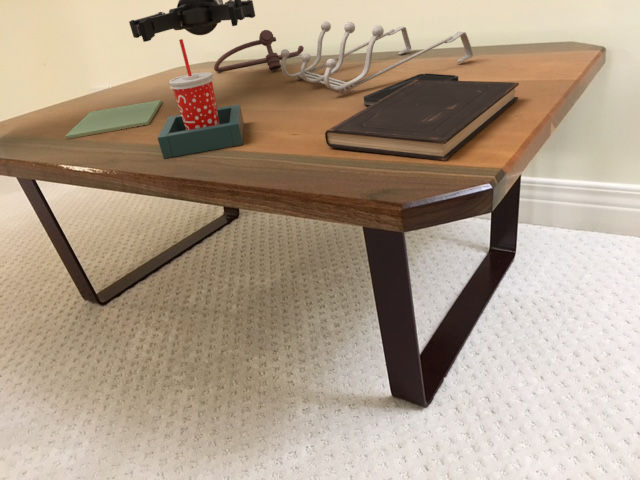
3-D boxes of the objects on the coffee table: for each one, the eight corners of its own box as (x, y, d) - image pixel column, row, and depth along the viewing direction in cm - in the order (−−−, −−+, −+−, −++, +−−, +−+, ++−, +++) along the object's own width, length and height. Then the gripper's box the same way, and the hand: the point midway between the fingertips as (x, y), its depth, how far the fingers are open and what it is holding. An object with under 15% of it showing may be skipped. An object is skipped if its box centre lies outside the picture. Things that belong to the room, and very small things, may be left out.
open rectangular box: (163, 158, 74) (157, 137, 72) (173, 135, 83) (168, 116, 82) (243, 144, 74) (238, 123, 73) (244, 123, 84) (239, 104, 82)
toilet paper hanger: (299, 47, 131) (309, 19, 117) (309, 80, 131) (320, 56, 117) (212, 65, 126) (212, 38, 113) (222, 99, 126) (223, 76, 113)
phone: (461, 75, 85) (399, 102, 77) (461, 83, 86) (400, 109, 77) (421, 73, 90) (359, 97, 82) (421, 79, 91) (360, 104, 83)
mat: (66, 139, 91) (65, 135, 91) (91, 114, 105) (89, 111, 105) (148, 124, 92) (147, 121, 91) (162, 102, 106) (161, 99, 105)
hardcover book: (517, 99, 74) (518, 82, 73) (445, 161, 58) (445, 140, 57) (412, 94, 83) (411, 79, 82) (326, 147, 67) (323, 129, 66)
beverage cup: (183, 139, 81) (156, 41, 74) (223, 130, 82) (200, 33, 75) (187, 150, 76) (159, 46, 69) (230, 140, 77) (206, 37, 70)
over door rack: (281, 82, 106) (272, 30, 101) (407, 51, 115) (403, 2, 111) (330, 100, 88) (321, 38, 84) (473, 62, 97) (472, 4, 93)
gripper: (269, 21, 102) (274, 35, 84) (139, 44, 101) (114, 64, 83) (261, -23, 99) (264, -18, 80) (126, 1, 98) (97, 12, 79)
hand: (188, 24), depth 81 cm, fingers open, 13 cm apart
